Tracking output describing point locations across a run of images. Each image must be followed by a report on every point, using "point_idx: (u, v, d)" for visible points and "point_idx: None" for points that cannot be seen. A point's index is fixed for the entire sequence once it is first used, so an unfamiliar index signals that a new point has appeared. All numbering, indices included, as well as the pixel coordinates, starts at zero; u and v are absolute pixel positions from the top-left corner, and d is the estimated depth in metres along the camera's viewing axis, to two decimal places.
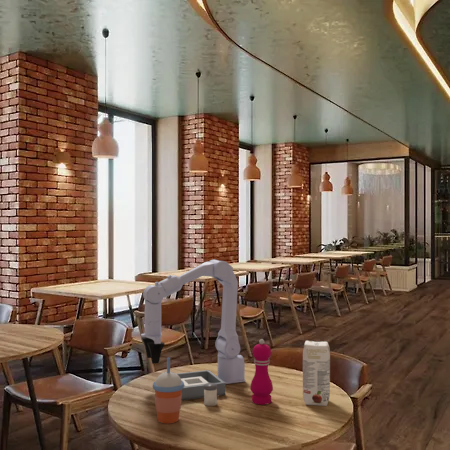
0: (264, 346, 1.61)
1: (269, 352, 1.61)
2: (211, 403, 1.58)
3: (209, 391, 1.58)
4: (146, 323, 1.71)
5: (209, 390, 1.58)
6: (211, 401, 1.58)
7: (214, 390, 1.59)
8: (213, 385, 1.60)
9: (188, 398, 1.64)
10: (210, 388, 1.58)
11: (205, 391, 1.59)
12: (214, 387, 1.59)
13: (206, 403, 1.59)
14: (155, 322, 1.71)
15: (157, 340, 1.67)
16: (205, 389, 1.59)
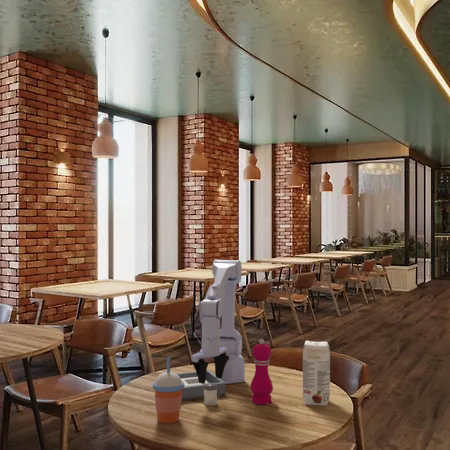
0: (264, 346, 1.61)
1: (269, 352, 1.61)
2: (211, 403, 1.58)
3: (209, 391, 1.58)
4: None
5: (209, 390, 1.58)
6: (211, 401, 1.58)
7: (214, 390, 1.59)
8: (213, 385, 1.60)
9: (188, 398, 1.64)
10: (210, 388, 1.58)
11: (205, 391, 1.59)
12: (214, 387, 1.59)
13: (206, 403, 1.59)
14: (205, 339, 1.58)
15: (193, 358, 1.55)
16: (205, 389, 1.59)
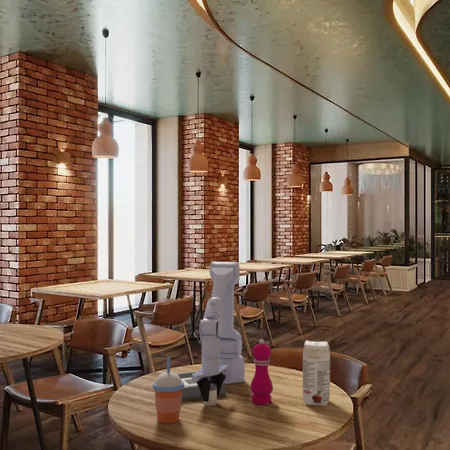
0: (264, 346, 1.61)
1: (269, 352, 1.61)
2: (211, 403, 1.58)
3: (209, 391, 1.58)
4: None
5: (209, 390, 1.58)
6: (211, 401, 1.58)
7: (214, 390, 1.59)
8: (213, 385, 1.60)
9: (188, 398, 1.64)
10: (210, 388, 1.58)
11: None
12: (214, 387, 1.59)
13: (206, 403, 1.59)
14: (204, 358, 1.58)
15: (193, 377, 1.55)
16: None
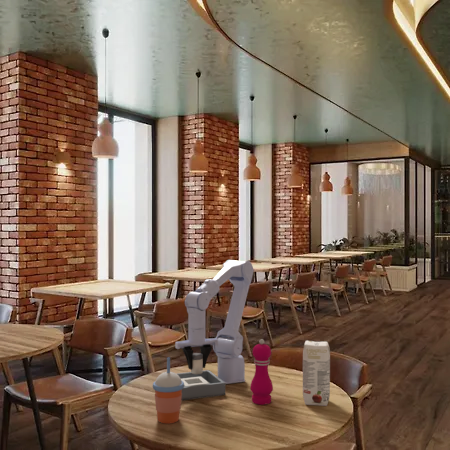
0: (264, 346, 1.61)
1: (269, 352, 1.61)
2: (195, 372, 1.69)
3: (193, 360, 1.69)
4: None
5: (193, 359, 1.69)
6: (195, 370, 1.69)
7: (198, 360, 1.69)
8: (198, 355, 1.69)
9: (188, 398, 1.64)
10: (194, 358, 1.69)
11: None
12: (198, 357, 1.69)
13: (191, 371, 1.70)
14: (189, 328, 1.69)
15: (176, 344, 1.68)
16: None
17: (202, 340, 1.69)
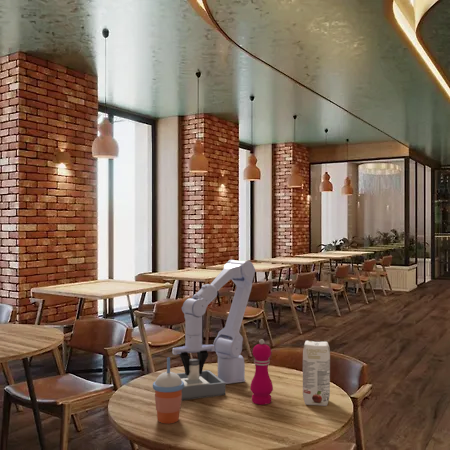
0: (264, 346, 1.61)
1: (269, 352, 1.61)
2: (192, 377, 1.71)
3: (190, 366, 1.71)
4: None
5: (190, 365, 1.71)
6: (192, 375, 1.71)
7: (194, 365, 1.71)
8: (195, 361, 1.72)
9: (188, 398, 1.64)
10: (190, 363, 1.71)
11: None
12: (194, 363, 1.71)
13: (188, 376, 1.72)
14: (186, 335, 1.72)
15: (173, 350, 1.70)
16: None
17: (199, 346, 1.71)
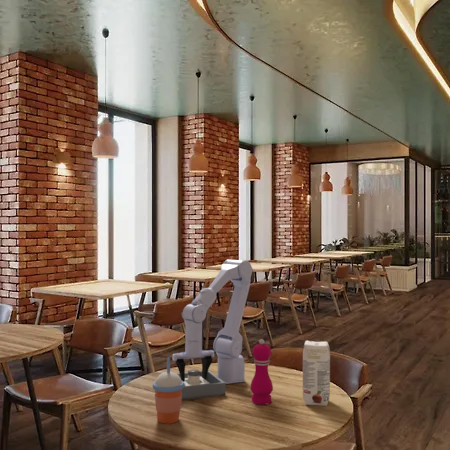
0: (264, 346, 1.61)
1: (269, 352, 1.61)
2: None
3: (190, 376, 1.71)
4: None
5: (190, 375, 1.71)
6: None
7: (194, 376, 1.71)
8: (195, 371, 1.72)
9: (188, 398, 1.64)
10: (190, 374, 1.71)
11: None
12: (195, 373, 1.71)
13: None
14: (186, 340, 1.72)
15: (173, 356, 1.70)
16: (188, 374, 1.73)
17: (199, 352, 1.71)
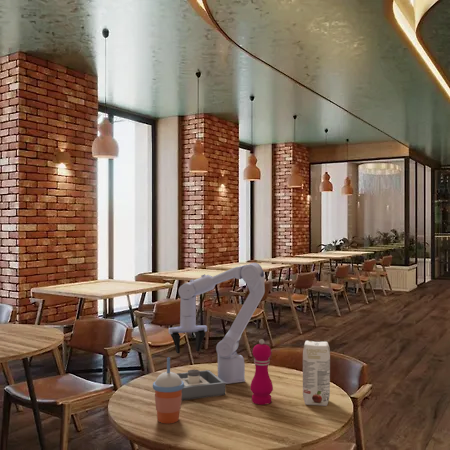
0: (264, 346, 1.61)
1: (269, 352, 1.61)
2: None
3: (190, 376, 1.71)
4: None
5: (190, 375, 1.71)
6: None
7: (194, 376, 1.71)
8: (195, 371, 1.72)
9: (188, 398, 1.64)
10: (190, 374, 1.71)
11: None
12: (195, 373, 1.71)
13: None
14: (181, 316, 1.87)
15: (169, 330, 1.85)
16: (188, 374, 1.73)
17: (192, 326, 1.86)
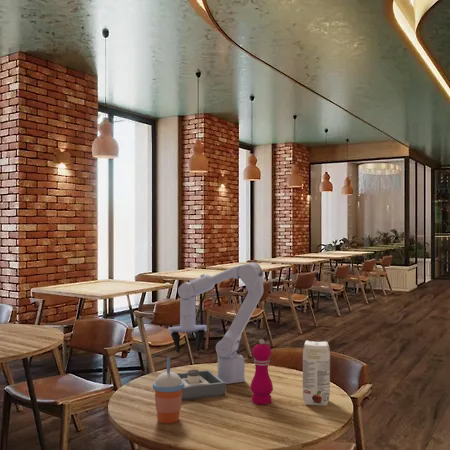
0: (264, 346, 1.61)
1: (269, 352, 1.61)
2: None
3: (190, 376, 1.71)
4: None
5: (190, 375, 1.71)
6: None
7: (194, 376, 1.71)
8: (195, 372, 1.72)
9: (188, 398, 1.64)
10: (190, 374, 1.71)
11: None
12: (194, 373, 1.71)
13: None
14: (180, 315, 1.88)
15: (168, 330, 1.86)
16: (188, 374, 1.73)
17: (192, 326, 1.87)
